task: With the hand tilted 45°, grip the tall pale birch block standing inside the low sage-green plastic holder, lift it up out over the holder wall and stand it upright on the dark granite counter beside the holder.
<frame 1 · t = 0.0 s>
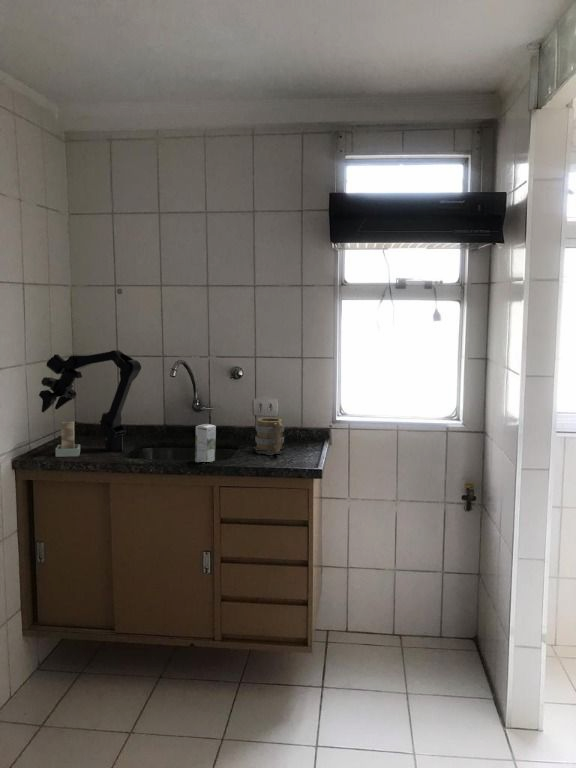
hand: (49, 410, 279), 15 cm above the counter, tool tilted 35°, fingers open, 9 cm apart
birch block: (68, 438, 263), in the holder
syrup box: (205, 462, 256), on the counter
holder: (68, 454, 263), on the counter
tankard: (271, 454, 273), on the counter
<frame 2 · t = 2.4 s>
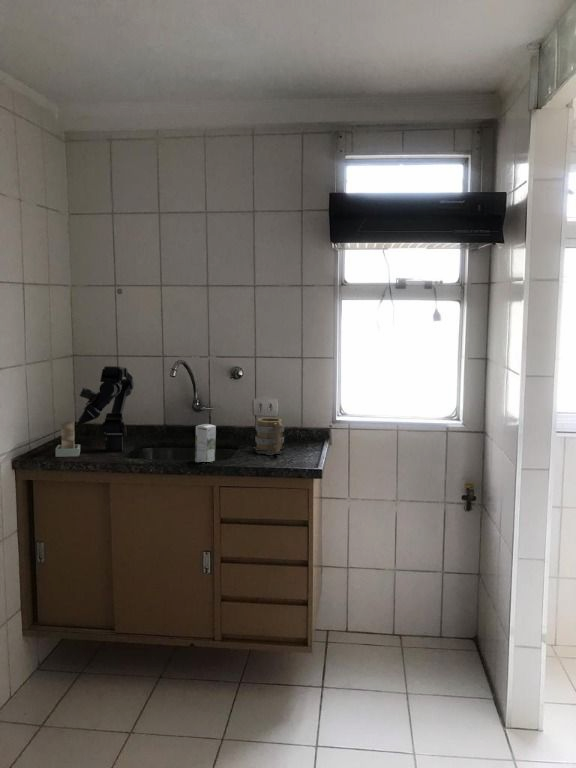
hand: (78, 422, 263), 13 cm above the counter, tool tilted 45°, fingers open, 9 cm apart
nothing on the counter moved.
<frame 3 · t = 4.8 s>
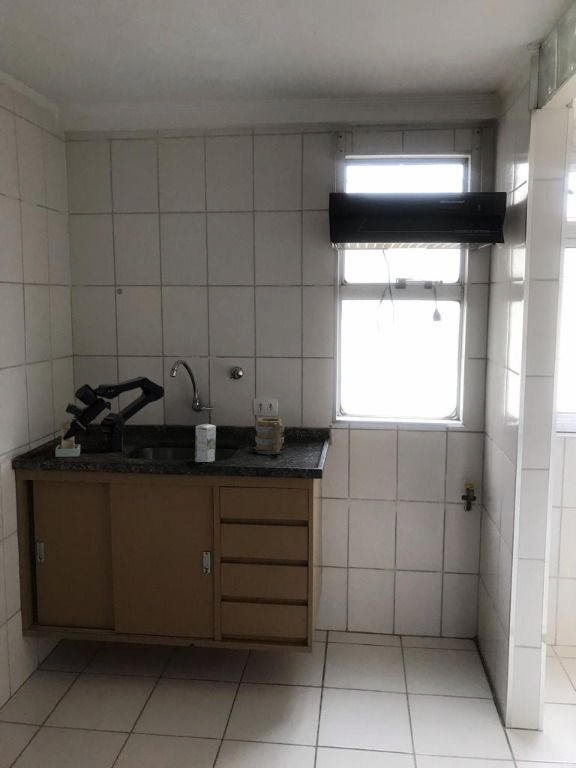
hand: (64, 438, 262), 7 cm above the counter, tool tilted 45°, fingers closed on birch block, 4 cm apart
birch block: (68, 438, 263), in the holder, touching gripper
everything else where it was.
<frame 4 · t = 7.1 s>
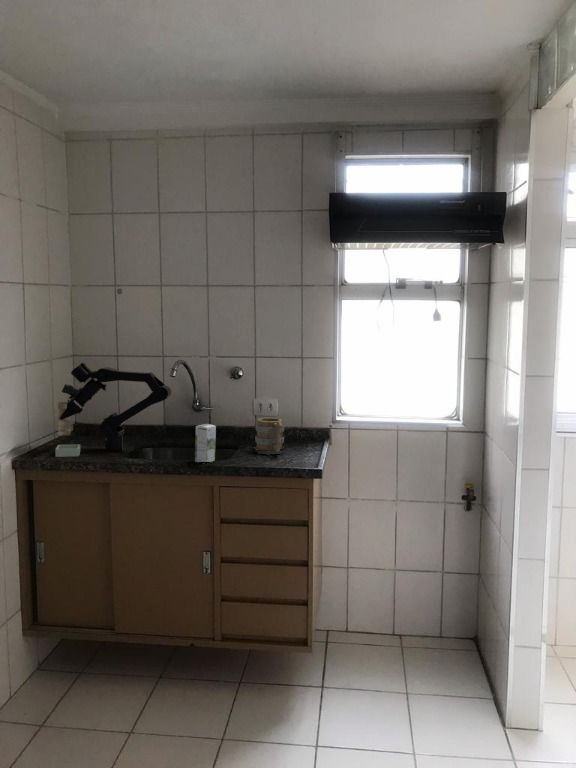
hand: (60, 418, 267), 14 cm above the counter, tool tilted 45°, fingers closed on birch block, 4 cm apart
birch block: (64, 418, 268), point 14 cm above the counter, touching gripper
everything else where it was.
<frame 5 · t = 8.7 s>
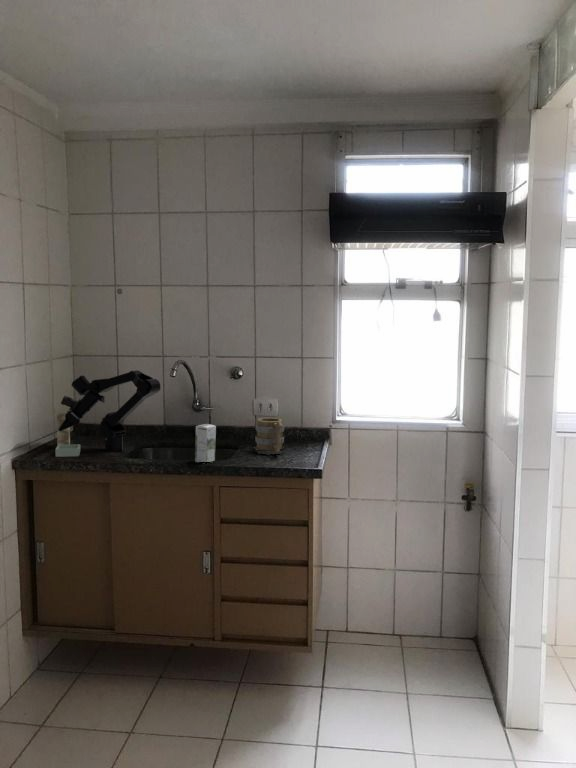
hand: (60, 429, 273), 8 cm above the counter, tool tilted 45°, fingers closed on birch block, 4 cm apart
birch block: (63, 429, 273), point 8 cm above the counter, touching gripper
everything else where it was.
when the fingers open (8 cm above the counter, at t = 9.6 s): birch block stays where it is, on the counter.
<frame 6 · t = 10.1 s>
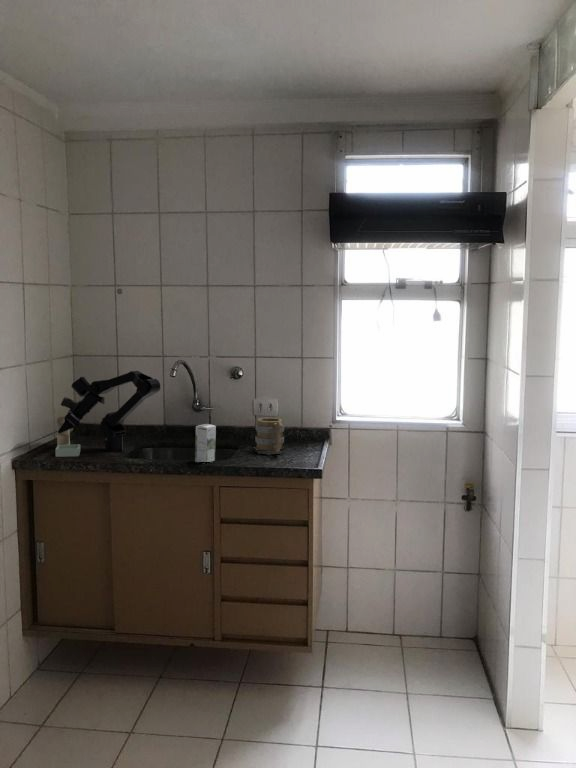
hand: (59, 430, 273), 8 cm above the counter, tool tilted 45°, fingers open, 9 cm apart
birch block: (63, 433, 274), on the counter
everything else where it was.
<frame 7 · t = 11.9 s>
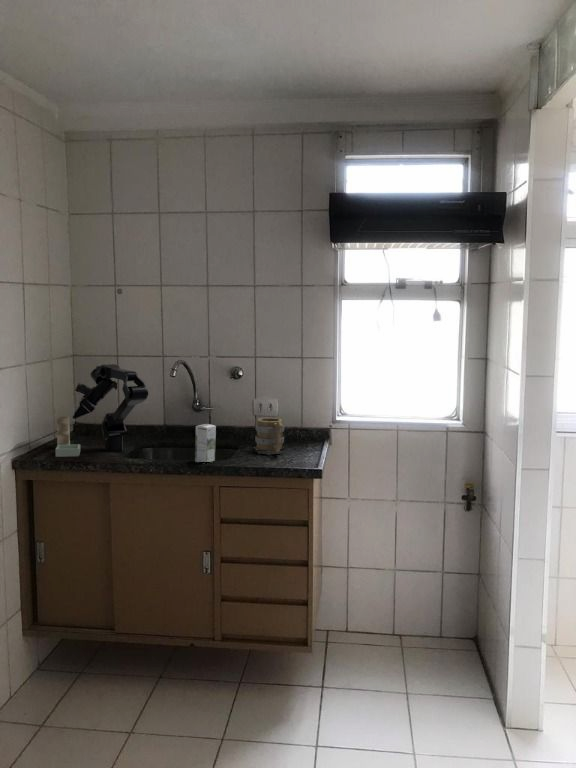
hand: (74, 416, 274), 13 cm above the counter, tool tilted 45°, fingers open, 9 cm apart
nothing on the counter moved.
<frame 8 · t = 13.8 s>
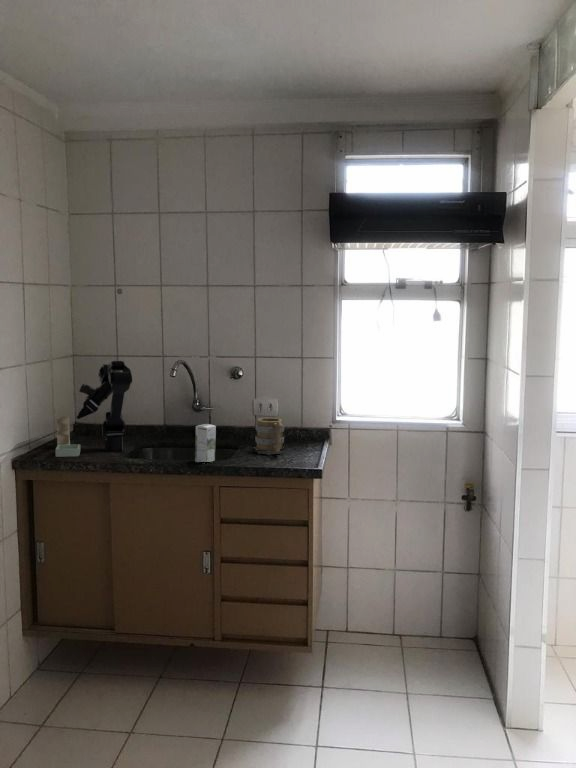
hand: (78, 416, 279), 13 cm above the counter, tool tilted 45°, fingers open, 9 cm apart
nothing on the counter moved.
at the end: birch block inside the target area (0.0 cm from its centre), on the counter; birch block tilted 0°; the gripper is holding nothing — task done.
